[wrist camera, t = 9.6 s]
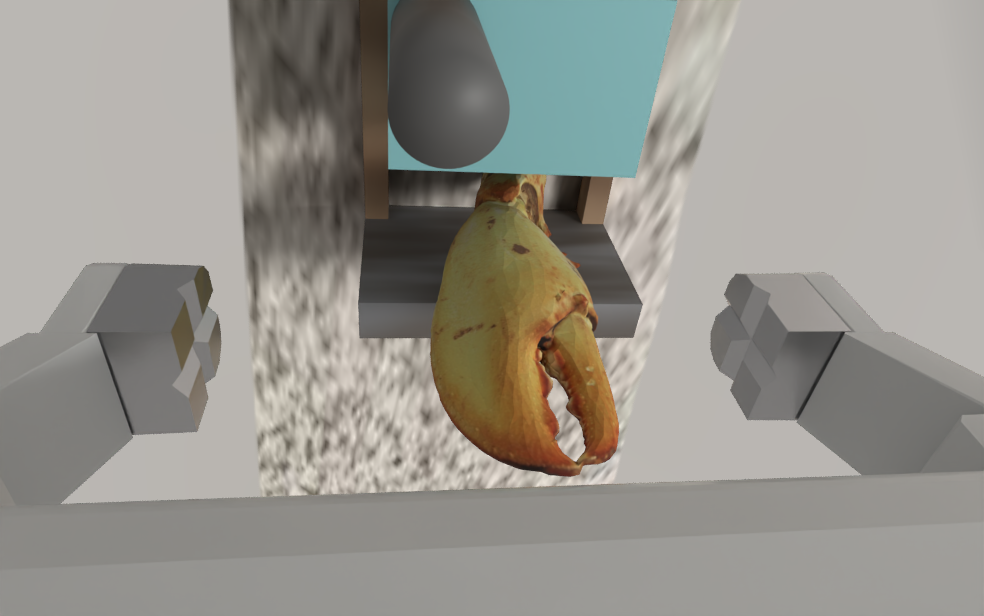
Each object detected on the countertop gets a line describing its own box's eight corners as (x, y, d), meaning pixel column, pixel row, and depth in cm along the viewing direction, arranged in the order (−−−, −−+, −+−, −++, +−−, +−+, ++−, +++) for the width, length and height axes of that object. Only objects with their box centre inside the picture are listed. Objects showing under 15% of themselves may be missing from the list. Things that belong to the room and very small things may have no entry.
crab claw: (418, 193, 36) (432, 497, 20) (430, 101, 33) (460, 371, 17) (540, 208, 37) (646, 502, 21) (563, 120, 34) (705, 387, 18)
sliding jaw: (389, -51, 27) (382, 45, 16) (631, -31, 29) (778, 69, 17) (389, 114, 31) (384, 281, 20) (600, 124, 33) (704, 284, 22)
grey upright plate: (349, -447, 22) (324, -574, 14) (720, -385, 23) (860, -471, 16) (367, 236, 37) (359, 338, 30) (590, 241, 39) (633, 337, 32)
